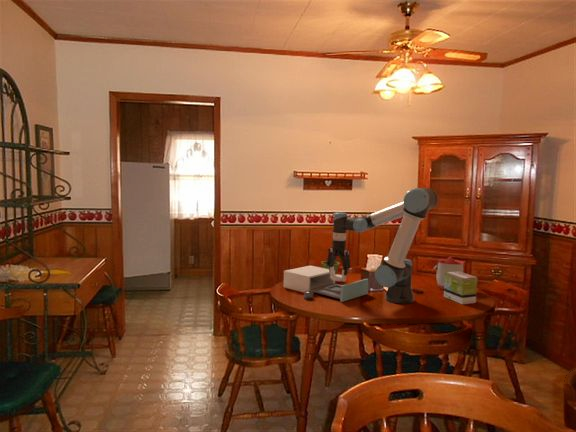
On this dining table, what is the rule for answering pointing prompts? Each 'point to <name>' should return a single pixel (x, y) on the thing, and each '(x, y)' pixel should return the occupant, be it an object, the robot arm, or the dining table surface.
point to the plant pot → (333, 266)
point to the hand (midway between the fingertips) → (337, 279)
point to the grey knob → (308, 295)
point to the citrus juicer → (447, 269)
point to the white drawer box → (306, 278)
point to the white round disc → (336, 277)
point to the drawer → (344, 290)
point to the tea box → (460, 287)
